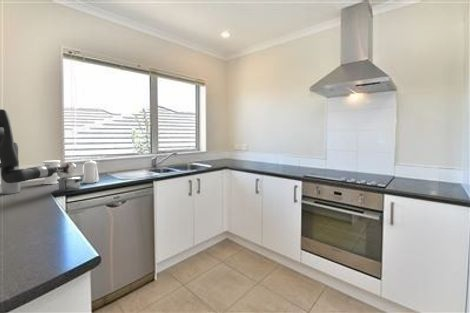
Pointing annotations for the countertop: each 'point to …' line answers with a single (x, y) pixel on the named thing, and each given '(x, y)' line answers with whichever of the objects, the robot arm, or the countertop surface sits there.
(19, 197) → the countertop surface
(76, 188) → the pot
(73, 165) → the lid
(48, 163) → the decorative container
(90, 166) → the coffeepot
